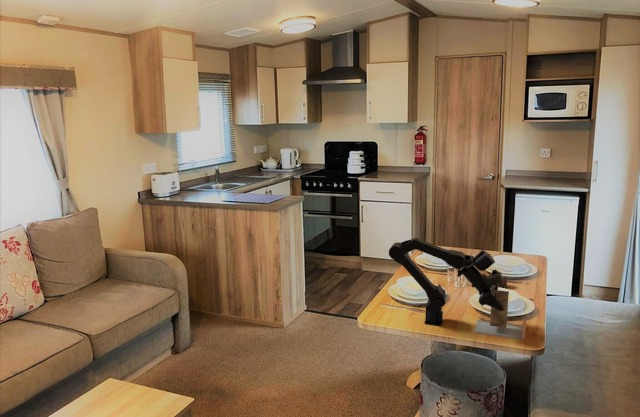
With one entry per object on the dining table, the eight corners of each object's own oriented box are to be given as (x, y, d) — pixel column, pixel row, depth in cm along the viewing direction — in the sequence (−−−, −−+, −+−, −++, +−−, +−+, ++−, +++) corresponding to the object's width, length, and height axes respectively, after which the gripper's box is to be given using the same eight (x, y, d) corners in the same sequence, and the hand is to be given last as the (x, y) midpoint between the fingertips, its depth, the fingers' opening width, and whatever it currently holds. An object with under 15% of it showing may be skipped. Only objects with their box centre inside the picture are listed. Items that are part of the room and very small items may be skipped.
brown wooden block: (489, 325, 204) (491, 294, 201) (491, 319, 209) (492, 289, 206) (506, 327, 201) (508, 297, 199) (507, 321, 207) (508, 291, 204)
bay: (473, 333, 204) (474, 323, 203) (477, 321, 215) (477, 312, 214) (525, 340, 196) (525, 331, 196) (525, 328, 207) (526, 318, 206)
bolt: (475, 286, 260) (506, 289, 253) (473, 284, 255) (505, 287, 248) (476, 274, 261) (507, 278, 254) (474, 272, 257) (506, 275, 250)
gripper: (488, 273, 193) (518, 304, 191) (493, 258, 210) (520, 287, 208) (466, 290, 198) (495, 320, 196) (472, 275, 215) (499, 303, 213)
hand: (503, 307), depth 203 cm, fingers closed on brown wooden block, 6 cm apart
